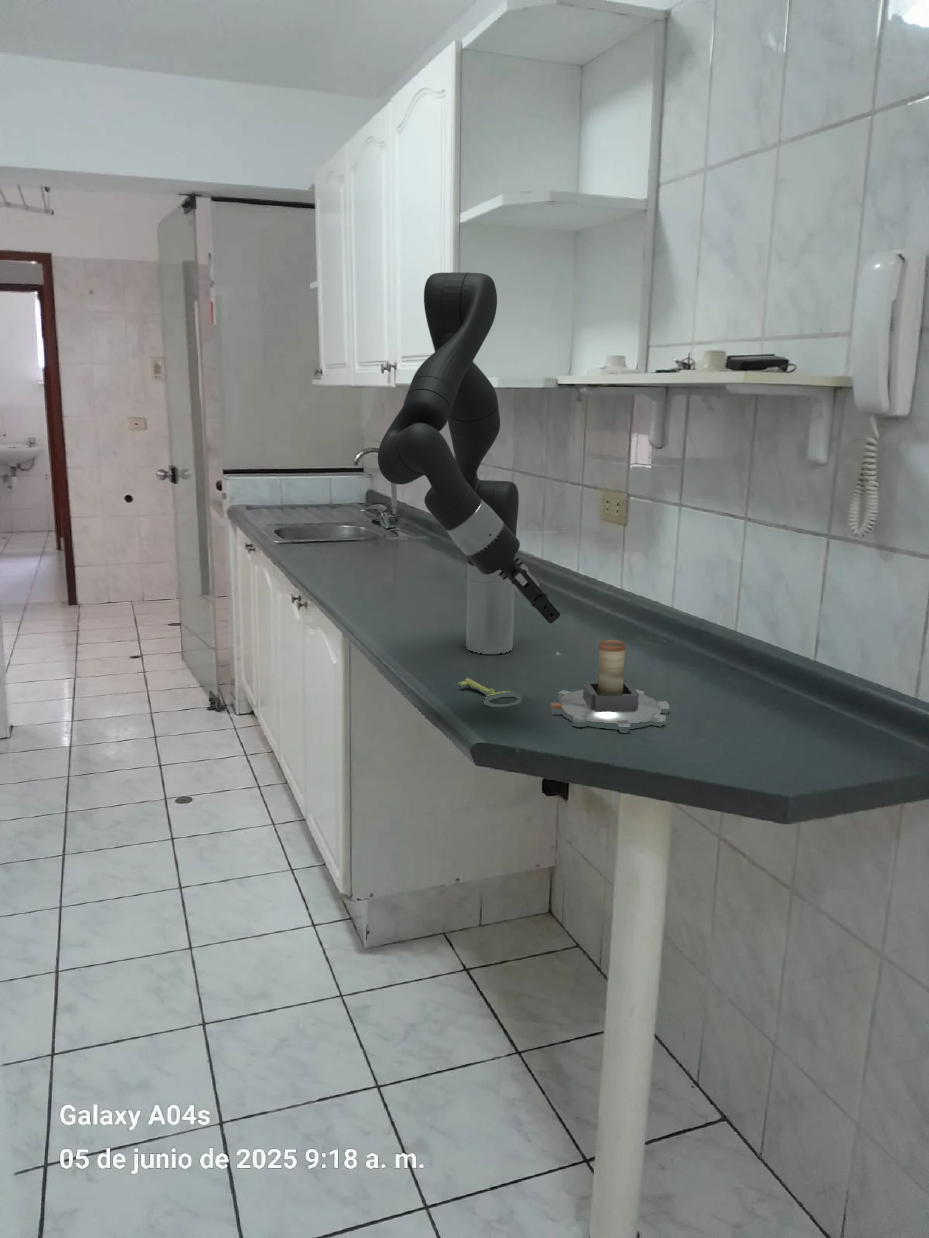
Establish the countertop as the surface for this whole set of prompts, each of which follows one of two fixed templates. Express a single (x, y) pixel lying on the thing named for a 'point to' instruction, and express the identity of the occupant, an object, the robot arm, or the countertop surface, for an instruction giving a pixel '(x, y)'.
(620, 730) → the countertop surface
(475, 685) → the key
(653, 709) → the sprocket plate
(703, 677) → the countertop surface
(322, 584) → the countertop surface
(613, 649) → the pin
